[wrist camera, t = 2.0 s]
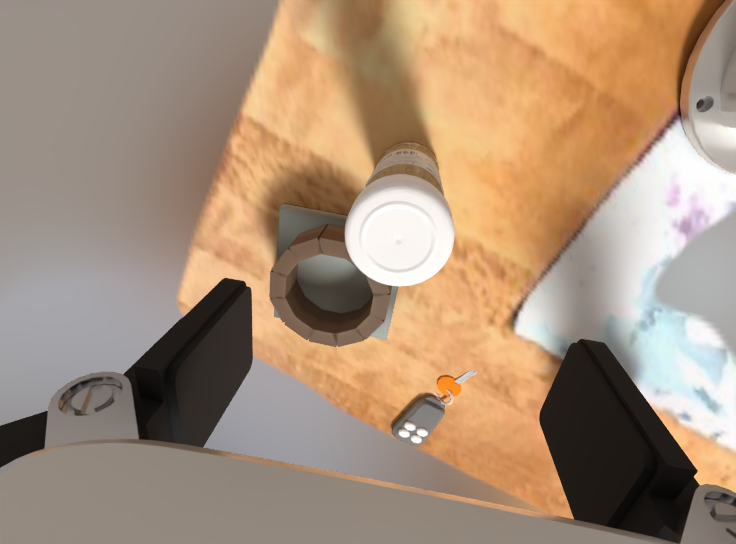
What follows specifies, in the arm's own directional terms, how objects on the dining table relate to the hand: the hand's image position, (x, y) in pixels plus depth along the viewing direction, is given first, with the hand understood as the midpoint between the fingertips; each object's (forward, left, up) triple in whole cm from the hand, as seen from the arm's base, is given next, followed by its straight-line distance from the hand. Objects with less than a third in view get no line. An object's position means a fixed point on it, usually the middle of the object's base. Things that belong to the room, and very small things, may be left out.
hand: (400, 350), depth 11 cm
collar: (+8, -5, -19) cm, 21 cm away
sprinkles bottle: (-1, -1, -19) cm, 19 cm away
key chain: (+19, +7, -19) cm, 28 cm away
